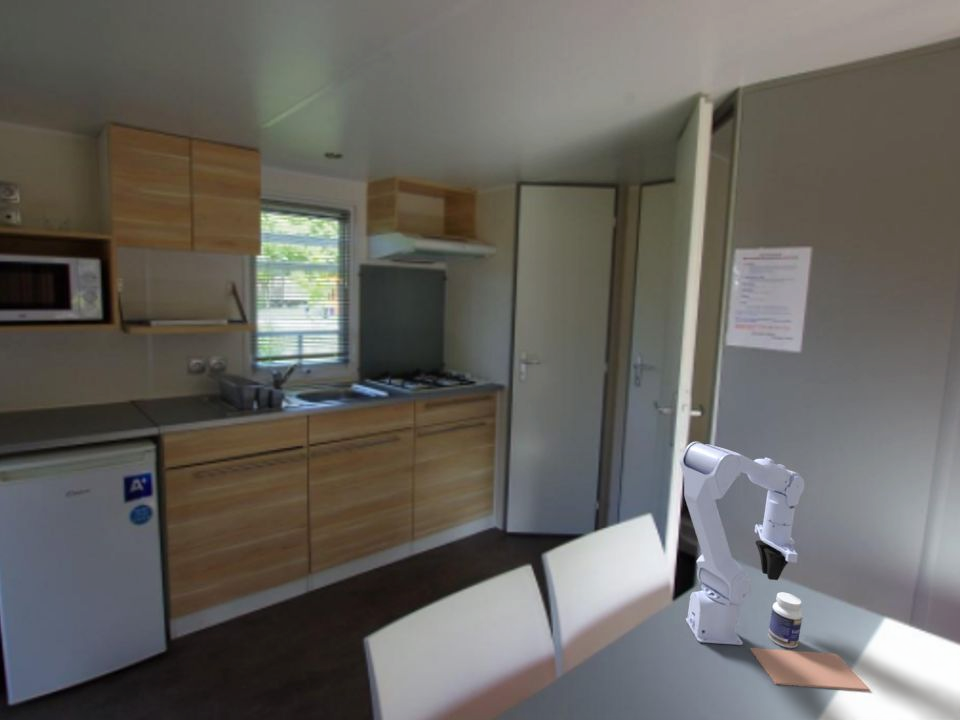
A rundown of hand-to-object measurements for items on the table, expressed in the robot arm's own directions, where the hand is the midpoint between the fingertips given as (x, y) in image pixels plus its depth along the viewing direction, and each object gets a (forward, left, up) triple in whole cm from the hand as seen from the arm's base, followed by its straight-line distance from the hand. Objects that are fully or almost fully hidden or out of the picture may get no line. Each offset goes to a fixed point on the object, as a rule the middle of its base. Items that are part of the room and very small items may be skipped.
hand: (770, 576), depth 123 cm
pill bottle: (0, -8, -11) cm, 13 cm away
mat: (0, -17, -10) cm, 20 cm away
